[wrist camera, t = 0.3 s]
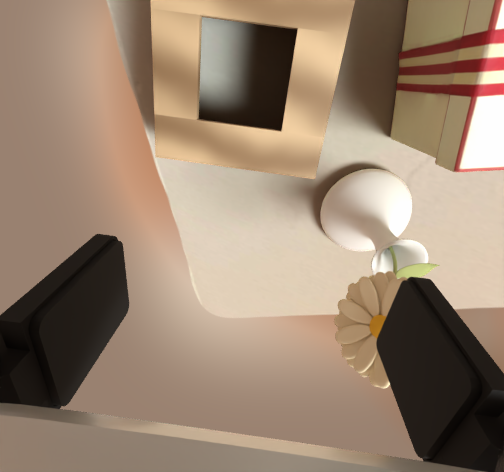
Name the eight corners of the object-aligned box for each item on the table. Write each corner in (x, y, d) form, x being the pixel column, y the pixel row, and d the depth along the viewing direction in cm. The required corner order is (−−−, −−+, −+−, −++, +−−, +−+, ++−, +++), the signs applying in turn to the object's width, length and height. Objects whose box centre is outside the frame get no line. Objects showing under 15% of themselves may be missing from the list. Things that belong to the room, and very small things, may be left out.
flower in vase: (384, 146, 36) (554, 250, 14) (420, 218, 40) (599, 388, 18) (292, 203, 40) (311, 351, 18) (333, 262, 44) (390, 444, 22)
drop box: (182, -22, 30) (148, -59, 22) (339, -1, 30) (362, -31, 22) (181, 140, 37) (155, 156, 30) (306, 158, 37) (314, 179, 29)
